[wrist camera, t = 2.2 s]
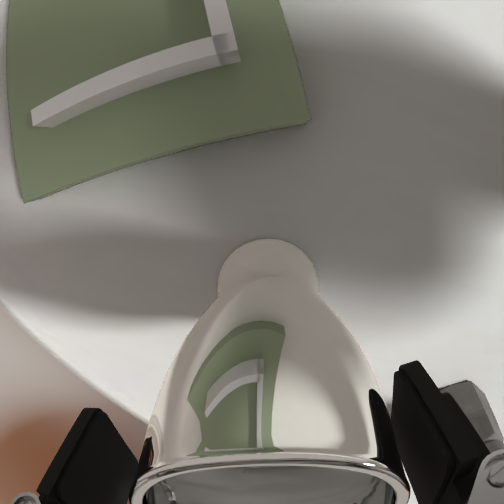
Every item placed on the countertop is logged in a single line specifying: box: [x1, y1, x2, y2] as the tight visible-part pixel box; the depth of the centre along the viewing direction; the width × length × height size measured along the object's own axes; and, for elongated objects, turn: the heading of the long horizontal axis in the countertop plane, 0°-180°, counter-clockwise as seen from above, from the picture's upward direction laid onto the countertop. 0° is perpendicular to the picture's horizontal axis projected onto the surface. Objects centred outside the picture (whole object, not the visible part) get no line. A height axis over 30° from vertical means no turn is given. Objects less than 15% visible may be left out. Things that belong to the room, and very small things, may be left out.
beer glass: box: [129, 239, 410, 504], centre depth 12 cm, size 7×7×15 cm
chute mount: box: [6, 0, 311, 203], centre depth 13 cm, size 18×20×4 cm
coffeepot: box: [440, 381, 504, 453], centre depth 14 cm, size 15×9×18 cm, turn 30°
